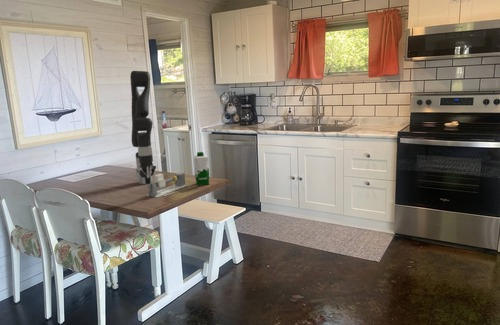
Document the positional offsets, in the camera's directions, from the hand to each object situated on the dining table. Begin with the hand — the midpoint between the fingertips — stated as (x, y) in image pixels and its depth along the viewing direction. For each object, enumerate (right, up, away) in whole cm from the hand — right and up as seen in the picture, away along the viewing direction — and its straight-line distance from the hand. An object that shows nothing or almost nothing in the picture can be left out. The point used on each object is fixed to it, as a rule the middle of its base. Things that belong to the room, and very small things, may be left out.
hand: (148, 184), depth 221 cm
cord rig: (+8, -5, +14) cm, 17 cm away
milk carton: (+27, -2, +28) cm, 39 cm away
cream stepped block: (+5, -3, +9) cm, 10 cm away
